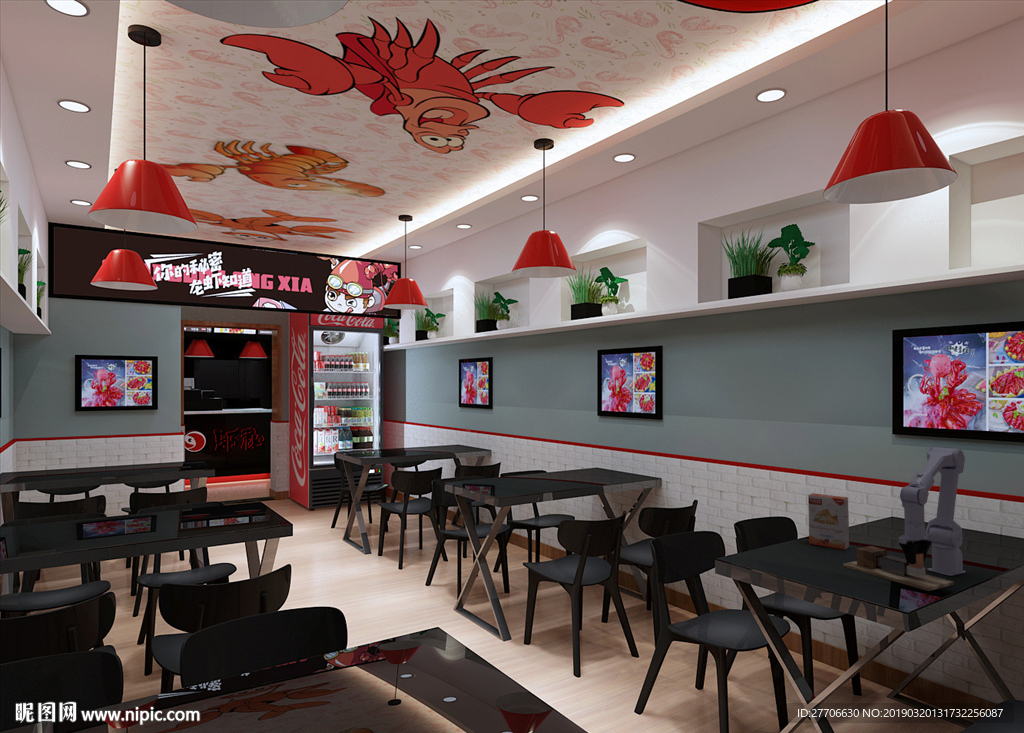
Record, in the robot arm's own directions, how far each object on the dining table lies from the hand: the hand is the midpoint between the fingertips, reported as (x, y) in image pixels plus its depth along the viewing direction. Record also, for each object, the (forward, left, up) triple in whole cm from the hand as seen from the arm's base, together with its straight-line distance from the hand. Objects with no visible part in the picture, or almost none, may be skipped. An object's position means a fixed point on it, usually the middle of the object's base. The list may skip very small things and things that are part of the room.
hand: (915, 562), depth 205 cm
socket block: (0, -16, -6) cm, 17 cm away
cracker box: (-14, -44, -6) cm, 46 cm away
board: (0, -7, -6) cm, 9 cm away
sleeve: (0, -7, -6) cm, 9 cm away
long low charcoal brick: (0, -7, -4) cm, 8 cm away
